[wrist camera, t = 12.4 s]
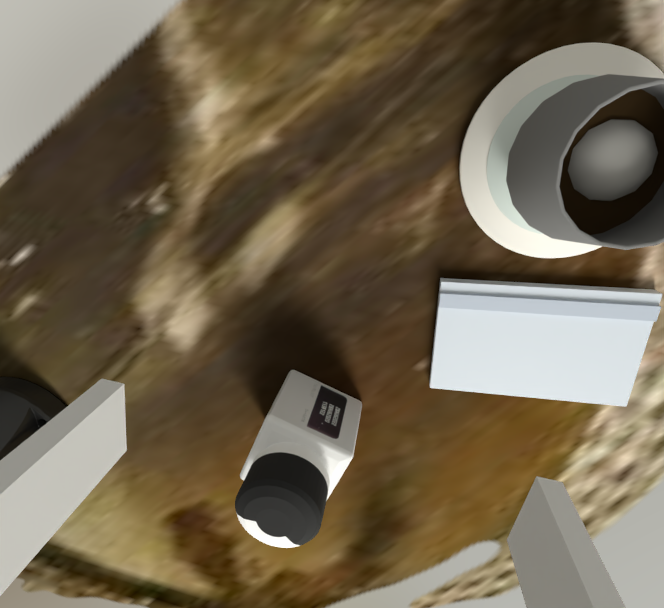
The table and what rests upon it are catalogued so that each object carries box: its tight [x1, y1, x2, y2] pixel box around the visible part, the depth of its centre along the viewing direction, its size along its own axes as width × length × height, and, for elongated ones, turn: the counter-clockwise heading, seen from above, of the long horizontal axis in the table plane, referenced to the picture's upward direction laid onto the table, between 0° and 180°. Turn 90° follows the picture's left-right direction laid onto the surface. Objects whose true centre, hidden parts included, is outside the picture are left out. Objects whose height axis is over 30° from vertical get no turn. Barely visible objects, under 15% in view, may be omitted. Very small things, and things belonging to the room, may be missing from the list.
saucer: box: [459, 42, 664, 258], centre depth 29 cm, size 14×14×1 cm
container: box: [235, 370, 362, 548], centre depth 35 cm, size 8×8×13 cm
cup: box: [506, 74, 664, 250], centre depth 24 cm, size 10×9×10 cm
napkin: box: [429, 278, 662, 407], centre depth 34 cm, size 16×10×1 cm, turn 90°
